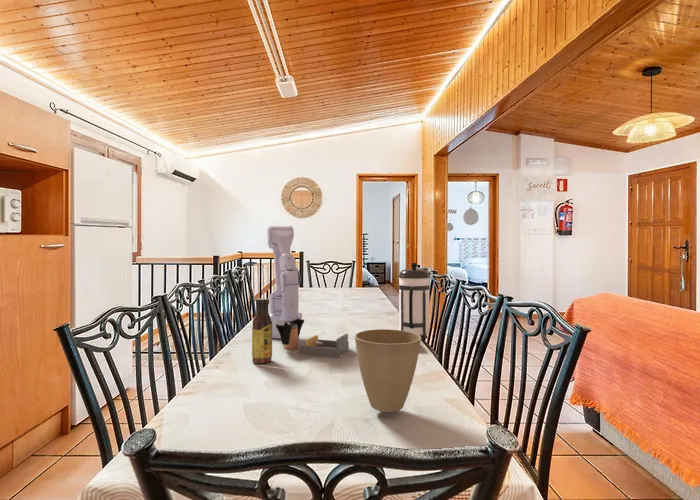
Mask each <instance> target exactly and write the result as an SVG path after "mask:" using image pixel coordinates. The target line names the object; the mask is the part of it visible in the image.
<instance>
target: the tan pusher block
mask: <svg viewBox="0 0 700 500" xmlns="http://www.w3.org/2000/svg"><path fill="white" fill-rule="evenodd" d="M318 339H319V335H318V334H315V335H313V336H311V337H309V338H307V339H306V340H305V346H315V347H316V346H317V345H323V342H318Z"/></svg>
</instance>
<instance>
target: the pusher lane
mask: <svg viewBox="0 0 700 500" xmlns="http://www.w3.org/2000/svg"><path fill="white" fill-rule="evenodd" d="M318 342H323V345H317V346H316V347H315V346H306V345H301V344H300V345H298V346H299V347H298V348H299V349H298V350H299V355H306V356H316V357H317V356H318V357H324V358H326V357H327V358H336V359H337V358H340V357H341V356H342V355H344V354H345V353H346V352H348V351H349V350H350V349H349V348H350V346H349V345H350V343H349V334H348V333H344V334H342V335H341V336H339V337H338V338H336V340H330V339H329V340H328V339H319V338H318Z"/></svg>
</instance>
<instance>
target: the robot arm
mask: <svg viewBox="0 0 700 500" xmlns="http://www.w3.org/2000/svg"><path fill="white" fill-rule="evenodd" d="M294 233H295V231H294V228H293V226H292V225H289V226H287V225H285V226H284V225H282V226H281V225H269V226H268V228H267V245H268V248H269V249H271V250H272V252H273V259H274V260H273V262H274V277H275V279H274V280H275V289H274V290H273V291H272V292H271V293H270V294H269V296H268V297H269V298H268V299H269V304H268V311H269V312H270V313H269V315H270V318H271V321H272V339H279V340H281V343H282V345H283V346H284V345H288V344H289V338H290V332H291V328H292V326H293V325H288V324H297V325H298V340H299V338H300V335H301V334H300V333H301V330H302V327H303V325H304V323H305V319H303V313H301V312H299V287H300V285H301V273H300V270H299V268H298V267H297V264H296V260H295V259H296V258H295V256H294V255H293V254H291V253H292V252H291V246H292V244H293V241H294V236H295V235H294Z"/></svg>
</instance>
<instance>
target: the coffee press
mask: <svg viewBox="0 0 700 500" xmlns="http://www.w3.org/2000/svg"><path fill="white" fill-rule="evenodd" d="M417 266H418V264H417V263H416V262H412V263H411V267H412V268H405V269H402V270H401V271H400V272H399V274H398V279H399V280H398V281H399V282H398V291H399V292H398V296H399V297H398V298H399V299H398V301H399V303H398V305H399V310H398V313H399V315H398V317H399V328H398V330H401V331H408V332H412V333H415V334H418V335H419V336H420V337H421V339H422V338H424V339H428V334H429V333H430V290H431V285H430V278H431V275H430V274H429V271H428V270H426V269H423V268H422V269H421V268H417Z"/></svg>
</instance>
